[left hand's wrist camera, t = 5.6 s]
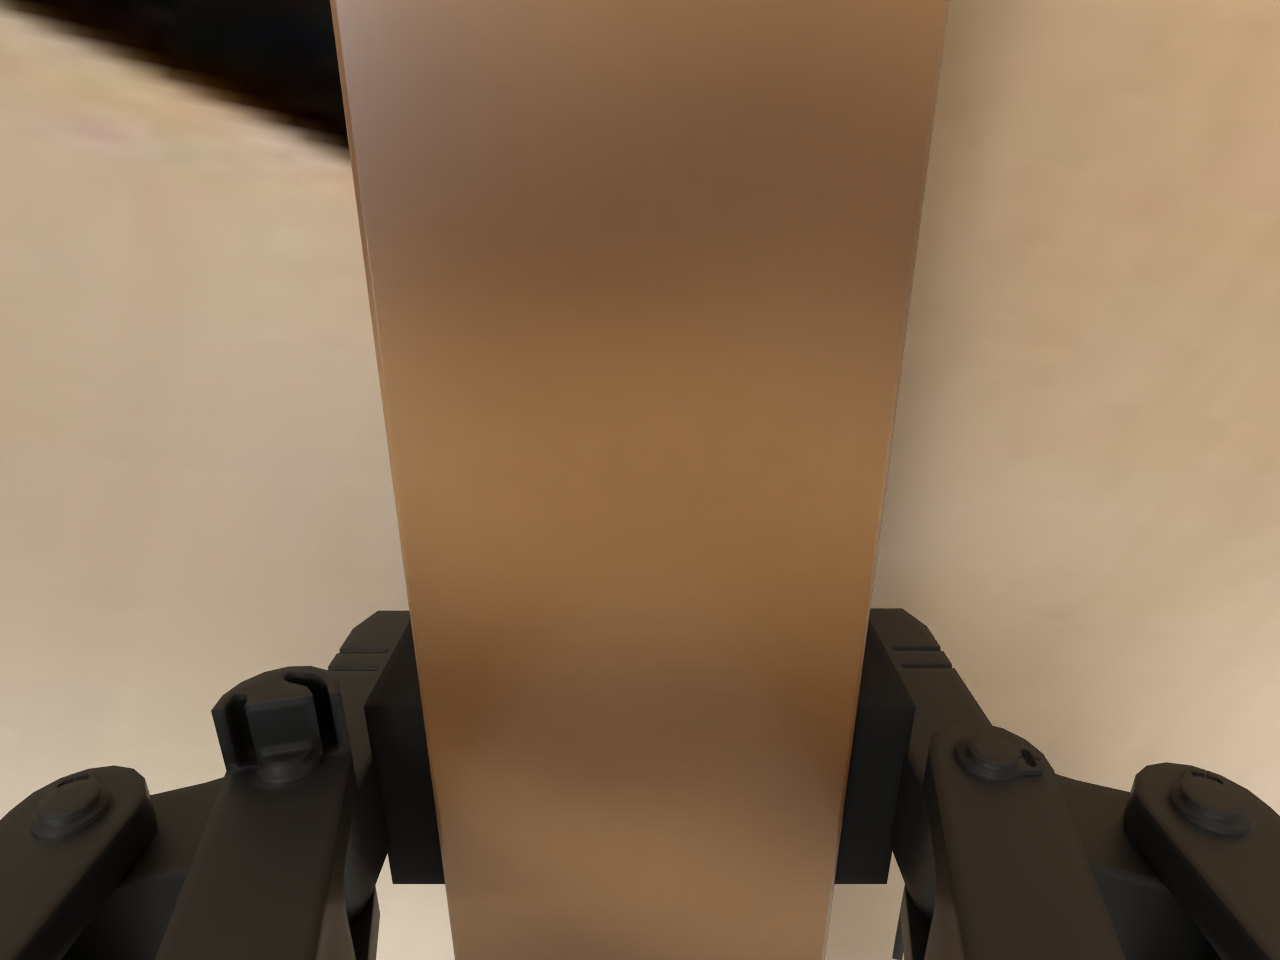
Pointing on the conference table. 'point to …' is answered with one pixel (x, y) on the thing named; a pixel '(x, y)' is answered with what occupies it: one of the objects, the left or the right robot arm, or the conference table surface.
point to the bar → (639, 439)
